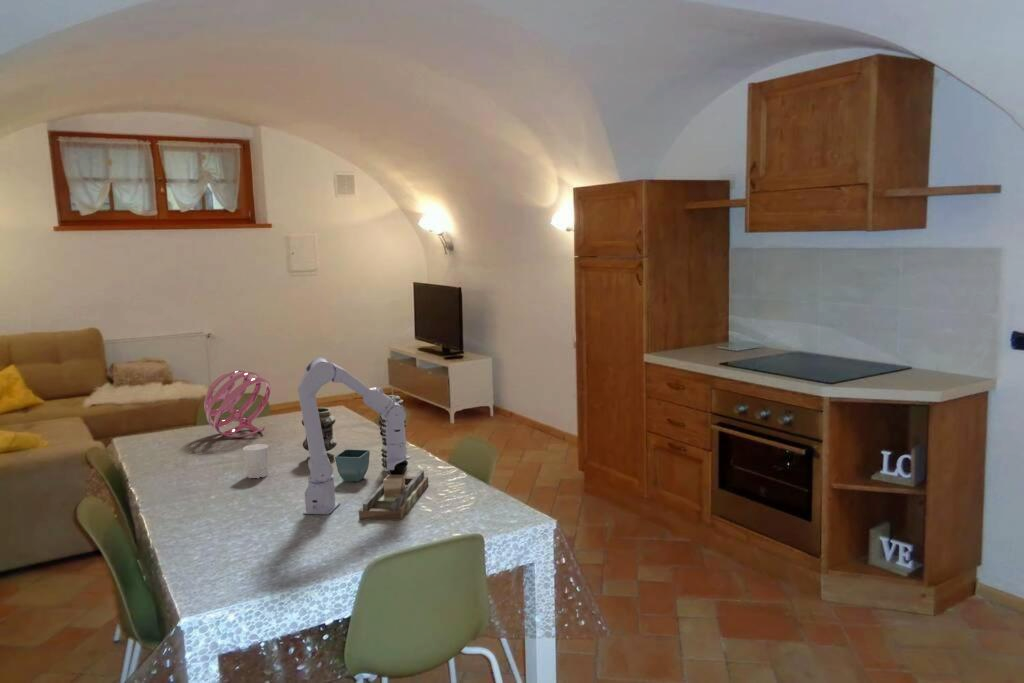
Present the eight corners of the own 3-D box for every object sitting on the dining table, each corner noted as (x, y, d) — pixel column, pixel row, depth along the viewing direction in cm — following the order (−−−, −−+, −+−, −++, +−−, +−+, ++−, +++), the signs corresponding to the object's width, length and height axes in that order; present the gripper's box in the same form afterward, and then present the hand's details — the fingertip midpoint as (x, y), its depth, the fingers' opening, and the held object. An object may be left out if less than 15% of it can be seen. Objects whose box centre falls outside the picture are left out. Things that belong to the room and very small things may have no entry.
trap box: (400, 520, 215) (399, 504, 214) (359, 519, 217) (358, 503, 216) (428, 484, 246) (427, 470, 245) (391, 483, 248) (391, 470, 247)
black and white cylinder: (412, 464, 268) (409, 394, 265) (401, 472, 259) (397, 399, 256) (388, 463, 271) (384, 393, 267) (376, 471, 262) (372, 399, 258)
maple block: (400, 496, 227) (399, 480, 227) (384, 496, 228) (383, 480, 227) (405, 490, 232) (404, 474, 232) (389, 490, 233) (388, 474, 232)
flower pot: (361, 484, 248) (359, 457, 247) (335, 483, 250) (334, 456, 249) (371, 476, 257) (370, 449, 256) (347, 475, 259) (345, 449, 258)
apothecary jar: (340, 460, 277) (337, 411, 274) (305, 465, 272) (302, 415, 270) (335, 452, 288) (332, 404, 286) (301, 456, 284) (298, 408, 281)
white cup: (240, 477, 260) (237, 448, 259) (258, 471, 267) (255, 443, 265) (257, 480, 256) (255, 451, 255) (274, 473, 263) (272, 445, 262)
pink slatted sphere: (296, 386, 318) (249, 348, 324) (242, 415, 296) (194, 374, 302) (283, 431, 334) (239, 394, 340) (232, 463, 312) (186, 423, 318)
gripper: (402, 449, 225) (404, 494, 227) (415, 436, 239) (417, 478, 241) (378, 449, 226) (381, 493, 228) (393, 436, 240) (395, 478, 242)
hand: (398, 486), depth 234 cm, fingers closed
